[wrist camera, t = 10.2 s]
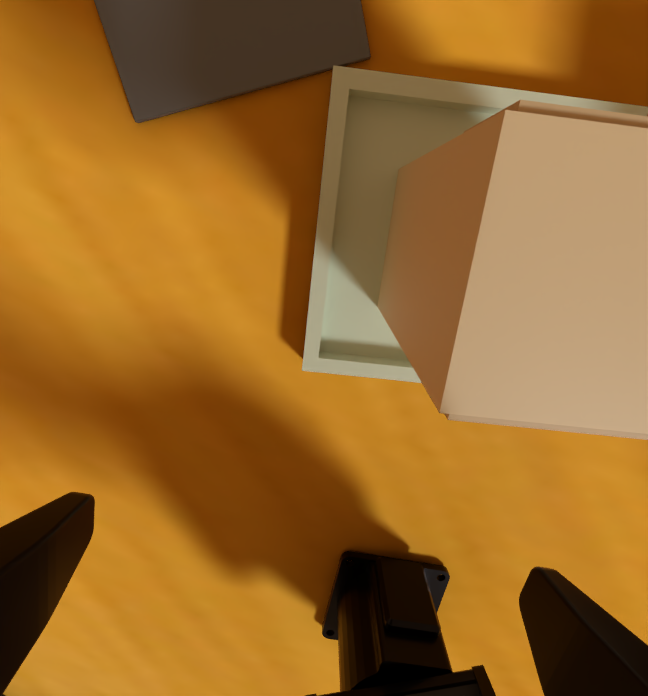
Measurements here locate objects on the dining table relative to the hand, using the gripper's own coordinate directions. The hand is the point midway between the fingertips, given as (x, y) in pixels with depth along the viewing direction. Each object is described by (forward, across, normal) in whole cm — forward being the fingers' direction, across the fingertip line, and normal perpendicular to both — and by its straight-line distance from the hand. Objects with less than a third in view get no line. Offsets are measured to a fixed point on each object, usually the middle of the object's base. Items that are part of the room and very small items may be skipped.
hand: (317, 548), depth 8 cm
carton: (+13, -5, -6) cm, 15 cm away
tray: (+13, -5, -6) cm, 15 cm away
